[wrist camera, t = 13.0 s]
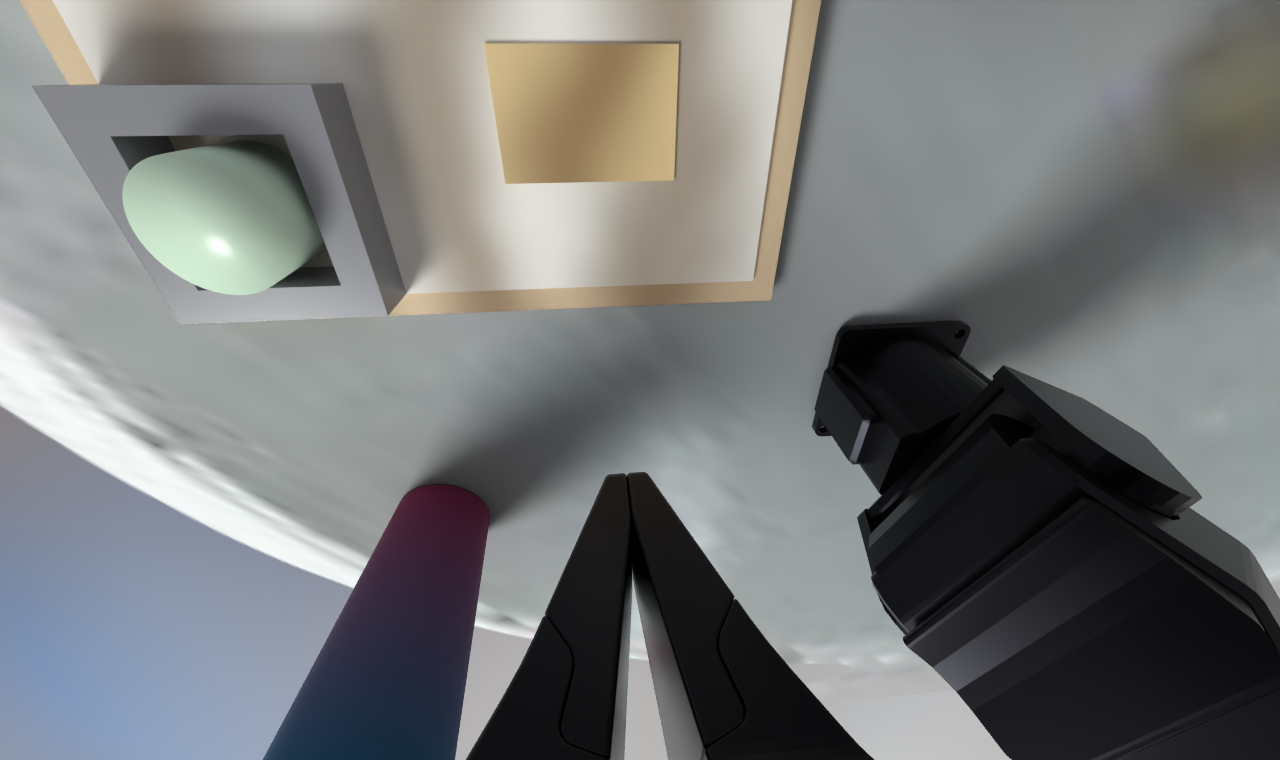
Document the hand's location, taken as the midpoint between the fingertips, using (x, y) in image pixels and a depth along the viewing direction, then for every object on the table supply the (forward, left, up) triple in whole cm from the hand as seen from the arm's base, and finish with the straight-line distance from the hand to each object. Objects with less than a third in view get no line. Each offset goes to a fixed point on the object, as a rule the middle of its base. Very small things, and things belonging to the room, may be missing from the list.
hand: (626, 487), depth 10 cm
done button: (+12, -3, -11) cm, 16 cm away
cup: (+10, +14, -12) cm, 21 cm away
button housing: (+11, -3, -11) cm, 16 cm away
